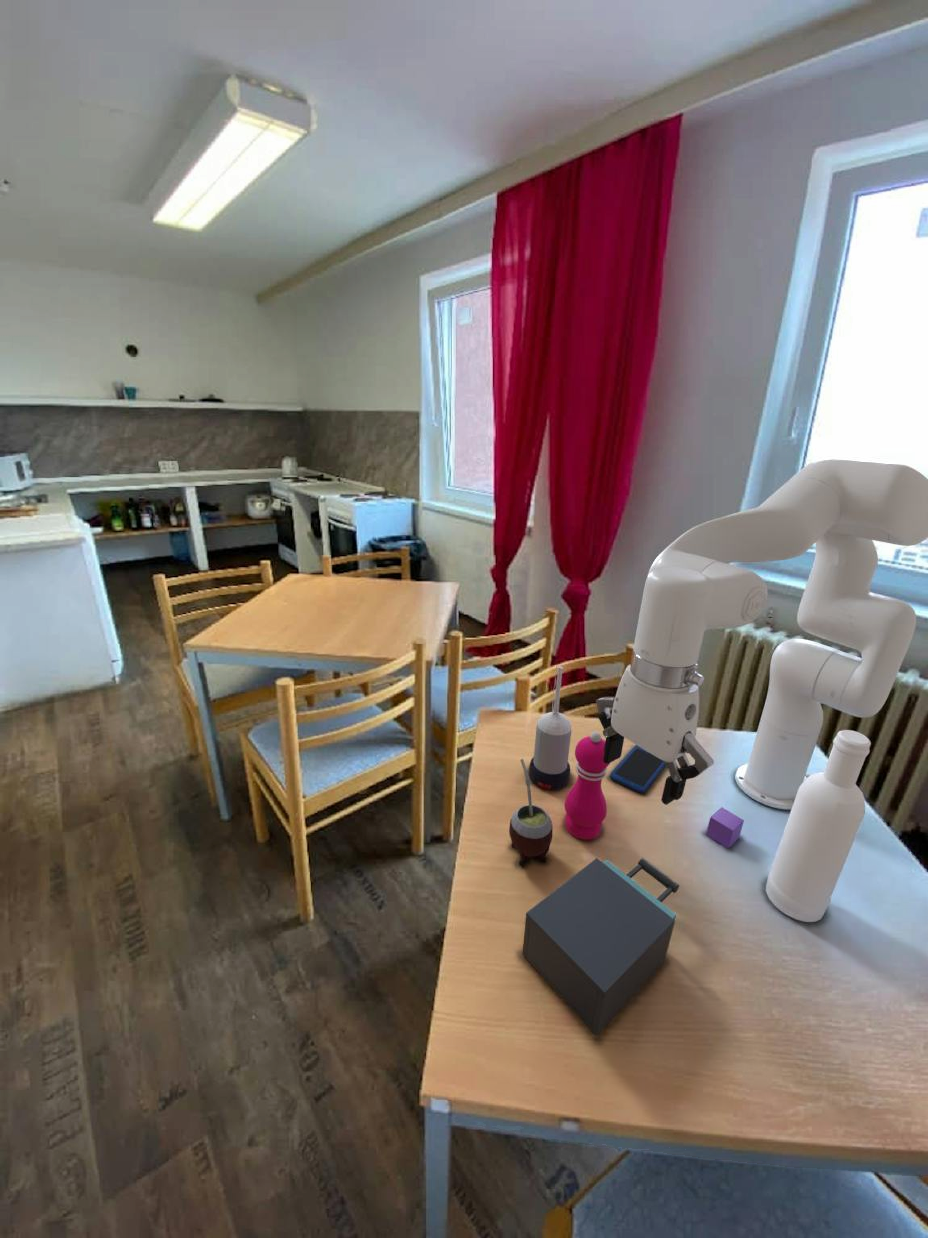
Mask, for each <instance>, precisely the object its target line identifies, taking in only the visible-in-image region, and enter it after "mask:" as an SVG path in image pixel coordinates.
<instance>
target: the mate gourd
mask: <svg viewBox="0 0 928 1238" xmlns="http://www.w3.org/2000/svg"><path fill="white" fill-rule="evenodd" d="M519 760H520V763H521V767H522V770H523V772H524V776H525V780H524V781H525V786H526V791H527V792H526V793H527V800H528V802H527V803H528V804H526V805H522V806H521V807H519V808H517V809H516V810H515V811H514V813H513V814H512V815H511V818H510V821H509V827H508V833H509V838H510V840H511V843H510V844H511V845H510V846H511V847H512V848H513V849H515V850H516V851H517V852H518V853H519V858H520V860H519V861H518V865H519V866H520V867H524V866H525V864H526V863H527V862H528V859H529V858H533V859H535V860H538V861H539V862H542V863H546V862H547V857H546V856H547V855H548V853H549V851H550V847H551V844H552V840H553V831H554V830H553V827H554V826H553V820H552V819H551V817H550V815H549V813H548V812H547V811H546V810H544V808H542V807H540V806H538V805H535V804H533V801H532V792H531V791H532V790H531V784H532V781H531V780H530V778H529V771H528V769H527V766H526V764H525V761H524V759H523V758H521V759H519Z"/></svg>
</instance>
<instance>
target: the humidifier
mask: <svg viewBox="0 0 928 1238" xmlns="http://www.w3.org/2000/svg"><path fill="white" fill-rule="evenodd" d="M555 672H557V674H555V676H554V686H553V689H552V690H553V693H552V694H553V695H552V701H554V702H553V703H552V707H551V711H549V712H547V713H545V714H543V715H541V716H540V717H539V719H538V720H537V722H536V728H535V737H534V738H535V739H534V751H533V757H532V758H531V759H530V762H529V768H528V775H529V778H530V782H531V783H533V784H534V786H536V787H537V788H540V789H542V790H547V791H558V790H562V789H564V788H566V786H568V784H569V783H570V776H571V765H570V763H569V756H570V755H569V754H570V746H571V740H572V739H571V738H572V724H571V722H570V720H569V719H568V718H567V716H565V715H564V714H563V713H561V712H560V711H559V710H560V700H561V699H560V698H561V687H562V678H563V666H558V664H556V667H555Z"/></svg>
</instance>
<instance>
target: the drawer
mask: <svg viewBox="0 0 928 1238" xmlns="http://www.w3.org/2000/svg"><path fill="white" fill-rule="evenodd" d="M602 862H603V863H604V864H605V865H606V866H608V867H609V868H610V869H611V870H613V871H614V872H615V873H616V874H618V875H619V876H620V877H621V878H623V879H624V880H625V881H626V882H628V883H629V884H630V885H631V886H633V887H634V888H635V889H636V890H638V891H639V892H640V893H641V894H643V895H644V896H645V897H646V898H648V899H649V900H650V901H651V902H653V903H654V904H655V905H656V906H658V907H659V908H660V909H661V910H663V911H664V912H665V913H666V914H668V915H669V916H670V917H671V918H673V919H674V920H675V921H676V918H677V914H676V912H674V911H673V910H672V909H670V908H669V907H667V906H666V905H665V904H664V903H663V902H664V901H665V900H666V899H667V898H668V897H669V896H670V895H671V894H672V893H673V894H676V893H677V891H678V890H679V889H680V884H679V883H677V882H676V881H675V880H673V878H671V877H669V876H668V875H667V874H666V873H664V872H662V871H661V870H660V869H659V868H657V867H656V866H654V865H653V864H652V863H650V862H649V861H648V860H647V859H645V858H644V857H641V858H640V859H639V860H638V861H637V865H636V866H634V867H633V868H632V869H631V870H630V871H629V872H628V873H625V872H623V871H622V870H621V869H619V867H617V866H616V865H615V864H613V863H612V862H610V860H608V859H605V860H604V861H602ZM642 870H643V871H644V872H646V874H648V875H649V876H650V877H652V878H653V879H654V880H656V881H657V882H658V883H660V884H661V885H662V886H663V887H665V888H666V889H665V890H664V891H663V892H662V893H661V894H659V896H657V897H655V896H654V895H653V894H651V893H650V892H649V891H647V890H646V889H645V888H643V887H642V886H641V885H640V884H639V883H637V882H636V881H634V879H632V878H633V877H634V876H636V875H637V874H638V873H639V872H641V871H642ZM673 930H674V929H673ZM673 930H672V932H673ZM672 934H673V933H672ZM672 934H671V936H672Z"/></svg>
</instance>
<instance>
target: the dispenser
mask: <svg viewBox="0 0 928 1238" xmlns="http://www.w3.org/2000/svg"><path fill="white" fill-rule="evenodd" d="M603 862H604V861H602V860H600V859H599V858H598V857H596V858H595V859H593V860H592V861H591V862H590V863H588V864H587V865H586V866H584V867H583V868H581V870H579V871H578V872H577V873H575V874H574V875H573V876H572V877H570V878H569V879H568V880H566V881H565V882H563V884H561V885H560V886H559V887H557V888H556V889H555V890H553V891H552V892H551V893H550V894H549V895H547V896H546V897H544V899H542V900H540V901H539V902H538V903H537V904H536V905H534V906H533V907H532V908H530V909H529V910H528V911H526V913H525V921H524V922H525V923H524V933H523V943H522V953H521V954H522V956H523V957H524V958H525V959H526V960H527V961H528V962H529V963H530V965H531V966H532V967H533V968H534V969H535V970H536V971H537V972H538V974H539V975H540V976H541V977H542V978H543V979H544V980H545V981H546V982H547V984H548V985H549V986H550V987H551V988H552V989H553V990H554V991H555V992H556V994H558V996H560V998H561V999H562V1000H563V1001H564V1002H565V1003H566V1005H567V1006H568V1007H569V1008H570V1009H571V1010H572V1012H574V1013H575V1014H576V1016H577V1017H578V1018H579V1019H580V1020H581V1021H582V1022H583V1023H584V1024H585V1026H586V1027H587V1028H588V1029H589V1030H590V1031H591V1032H592V1033H593V1034H594V1035H595V1037H597V1036H598V1035H599V1034H600V1033H601V1032H602V1031H603V1030H604V1029H605V1028H606V1026H608V1025H609V1023H610V1022H611V1021H612V1020H613V1019H614V1018H615V1017H616V1016H617V1015H618V1014H619V1012H620V1011H621V1010H622V1009H623V1008H624V1007H625V1006H626V1005H627V1004H628V1002H630V1001H631V999H632V998H633V997H634V996H635V995H636V994H637V993H638V992H639V990H640V989H641V988H642V987H643V986H644V985H645V984H646V983H647V982H648V980H649V979H650V978H651V977H652V976H653V975H654V974H655V973H656V972H657V971H658V970H659V969H660V967H662V966H663V964H664V963H665V961H666V957H667V954H668V949H669V946H670V942H671V939H672V938H671V937H672V935H671V934H673V931H672V930H674V927H675V922H676V919H675V920H674V919H673V918H671V917H670V916H669V915H668V914H666V913H665V912H664V911H663V910H661V909H660V908H659V907H658V906H656V905H655V904H654V903H653V902H651V901H650V900H649V899H648V898H646V897H645V896H644V895H643V894H641V893H640V892H639V891H638V890H636V889H635V888H634V887H633V886H631V885H630V884H629V883H628V882H626V881H625V880H624V879H623V878H621V877H620V876H619V875H618V874H616V873H615V872H614V871H613V870H611V869H610V868H609V867H608V866H606V865H605V864H604V863H603Z"/></svg>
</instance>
